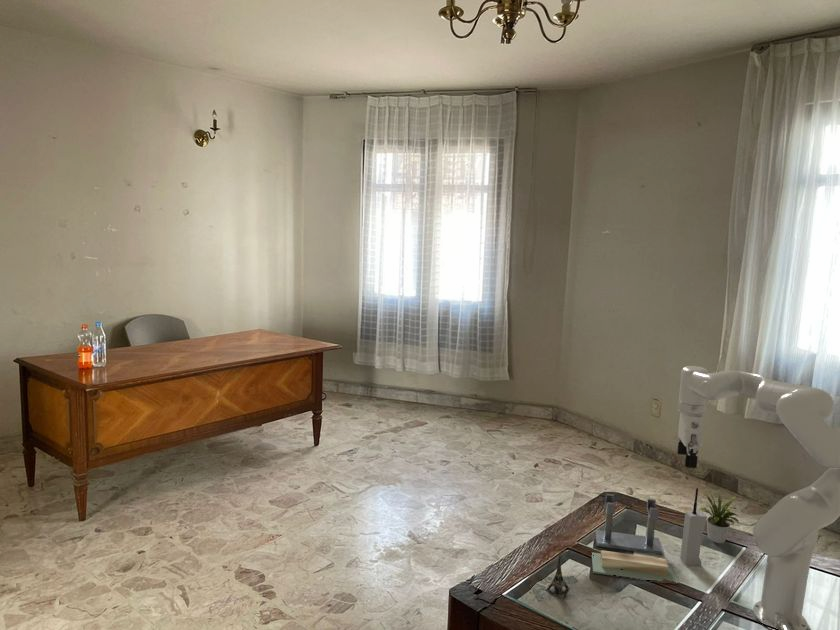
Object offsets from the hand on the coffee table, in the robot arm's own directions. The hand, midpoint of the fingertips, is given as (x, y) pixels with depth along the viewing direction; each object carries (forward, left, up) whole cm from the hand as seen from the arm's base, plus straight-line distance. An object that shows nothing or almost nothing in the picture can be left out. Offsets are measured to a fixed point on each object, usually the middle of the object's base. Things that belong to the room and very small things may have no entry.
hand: (686, 460), depth 183 cm
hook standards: (+4, +14, -33) cm, 36 cm away
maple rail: (-10, +14, -32) cm, 36 cm away
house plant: (+14, -14, -33) cm, 38 cm away
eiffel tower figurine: (-25, +37, -33) cm, 56 cm away
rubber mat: (-10, +14, -33) cm, 37 cm away
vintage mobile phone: (-2, -4, -33) cm, 33 cm away
